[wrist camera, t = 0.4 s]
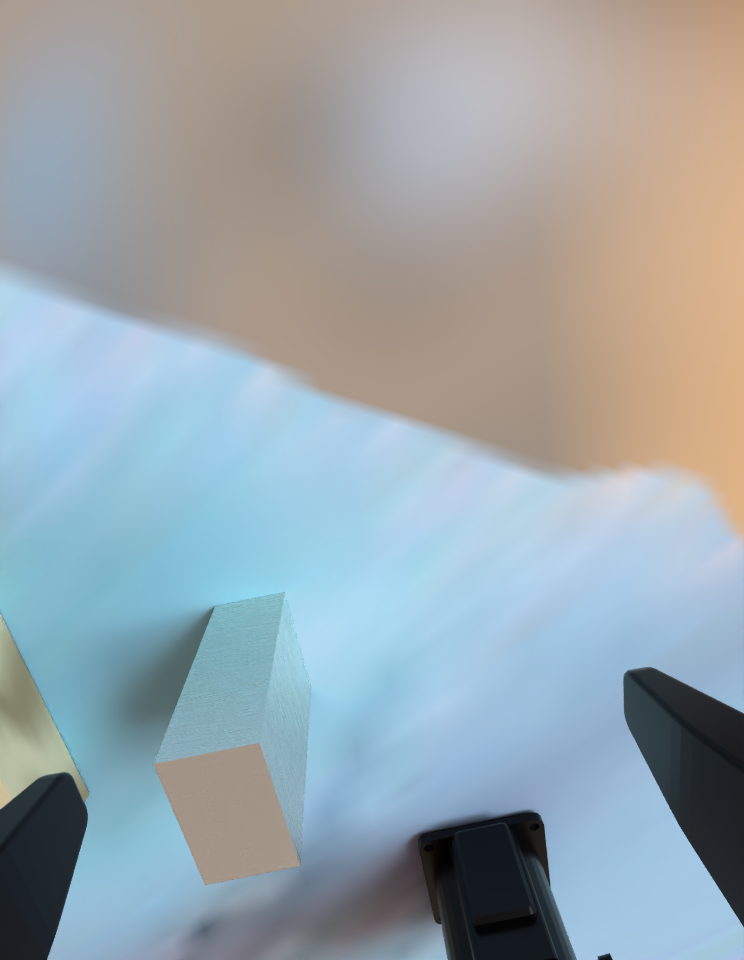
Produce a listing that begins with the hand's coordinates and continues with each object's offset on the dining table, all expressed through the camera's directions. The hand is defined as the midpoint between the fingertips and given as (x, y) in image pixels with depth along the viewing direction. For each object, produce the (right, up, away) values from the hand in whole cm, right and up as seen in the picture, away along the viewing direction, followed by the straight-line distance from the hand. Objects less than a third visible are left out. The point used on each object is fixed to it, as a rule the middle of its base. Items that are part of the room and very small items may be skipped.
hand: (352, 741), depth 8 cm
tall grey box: (-4, -3, +14) cm, 16 cm away
